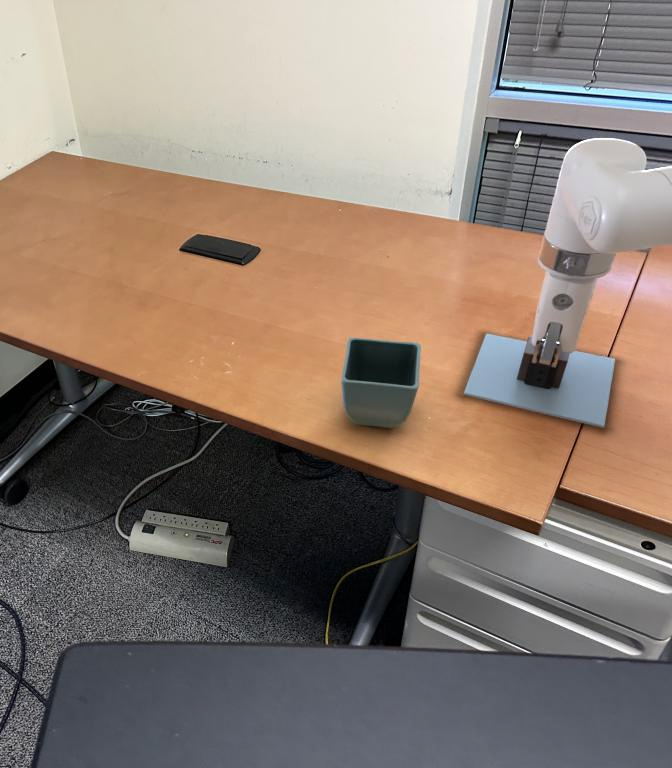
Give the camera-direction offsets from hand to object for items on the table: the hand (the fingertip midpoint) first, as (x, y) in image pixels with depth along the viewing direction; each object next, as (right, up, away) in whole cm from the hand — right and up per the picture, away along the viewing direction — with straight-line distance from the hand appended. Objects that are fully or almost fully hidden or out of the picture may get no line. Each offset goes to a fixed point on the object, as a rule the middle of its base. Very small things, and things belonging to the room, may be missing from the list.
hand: (540, 373), depth 90 cm
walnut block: (0, 0, 0) cm, 0 cm away
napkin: (0, -1, 0) cm, 1 cm away
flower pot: (-22, -6, -1) cm, 23 cm away
